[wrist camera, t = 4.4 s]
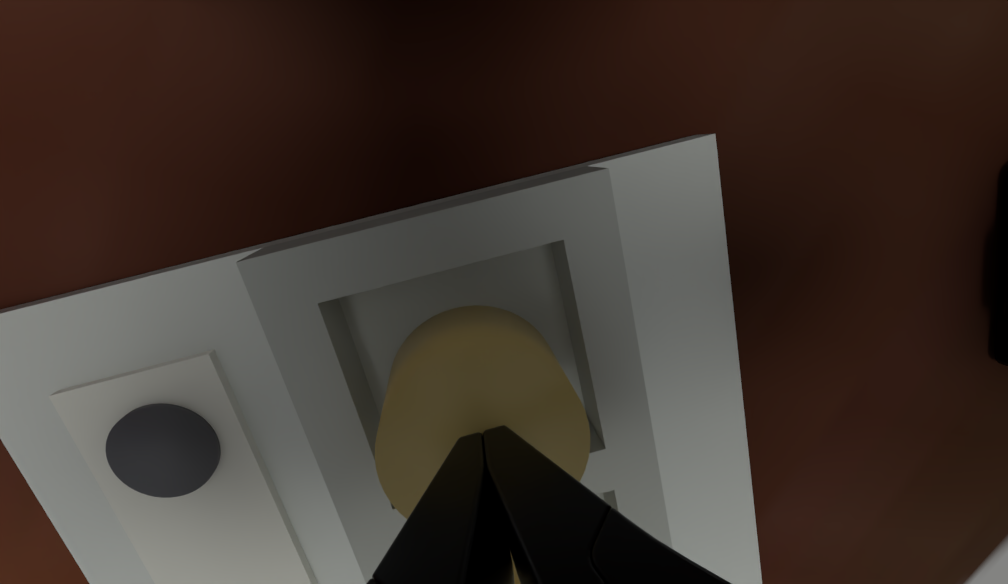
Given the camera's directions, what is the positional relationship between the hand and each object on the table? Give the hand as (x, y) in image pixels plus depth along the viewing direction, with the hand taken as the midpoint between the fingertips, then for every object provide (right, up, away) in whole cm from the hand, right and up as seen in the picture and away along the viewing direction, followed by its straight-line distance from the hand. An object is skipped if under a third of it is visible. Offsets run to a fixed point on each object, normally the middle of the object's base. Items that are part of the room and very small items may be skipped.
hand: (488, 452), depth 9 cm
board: (-1, -5, +6) cm, 8 cm away
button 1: (0, +1, +2) cm, 3 cm away
